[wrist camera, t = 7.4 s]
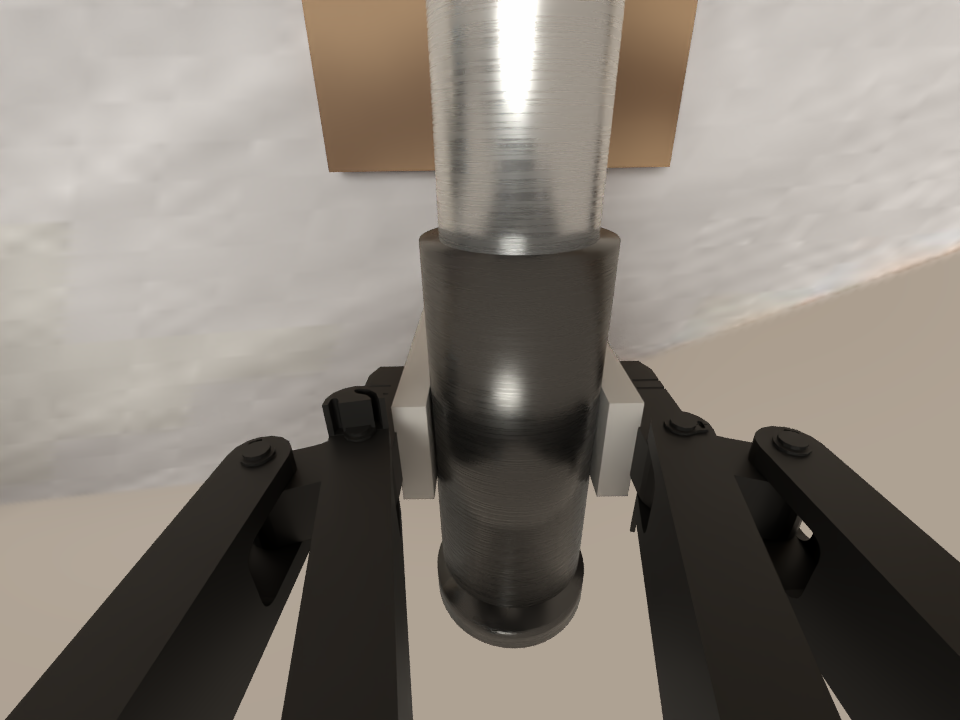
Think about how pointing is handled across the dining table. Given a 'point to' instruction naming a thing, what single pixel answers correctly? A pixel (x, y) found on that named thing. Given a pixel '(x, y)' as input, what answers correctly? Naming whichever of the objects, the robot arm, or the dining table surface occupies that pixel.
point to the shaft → (517, 300)
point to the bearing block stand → (407, 94)
